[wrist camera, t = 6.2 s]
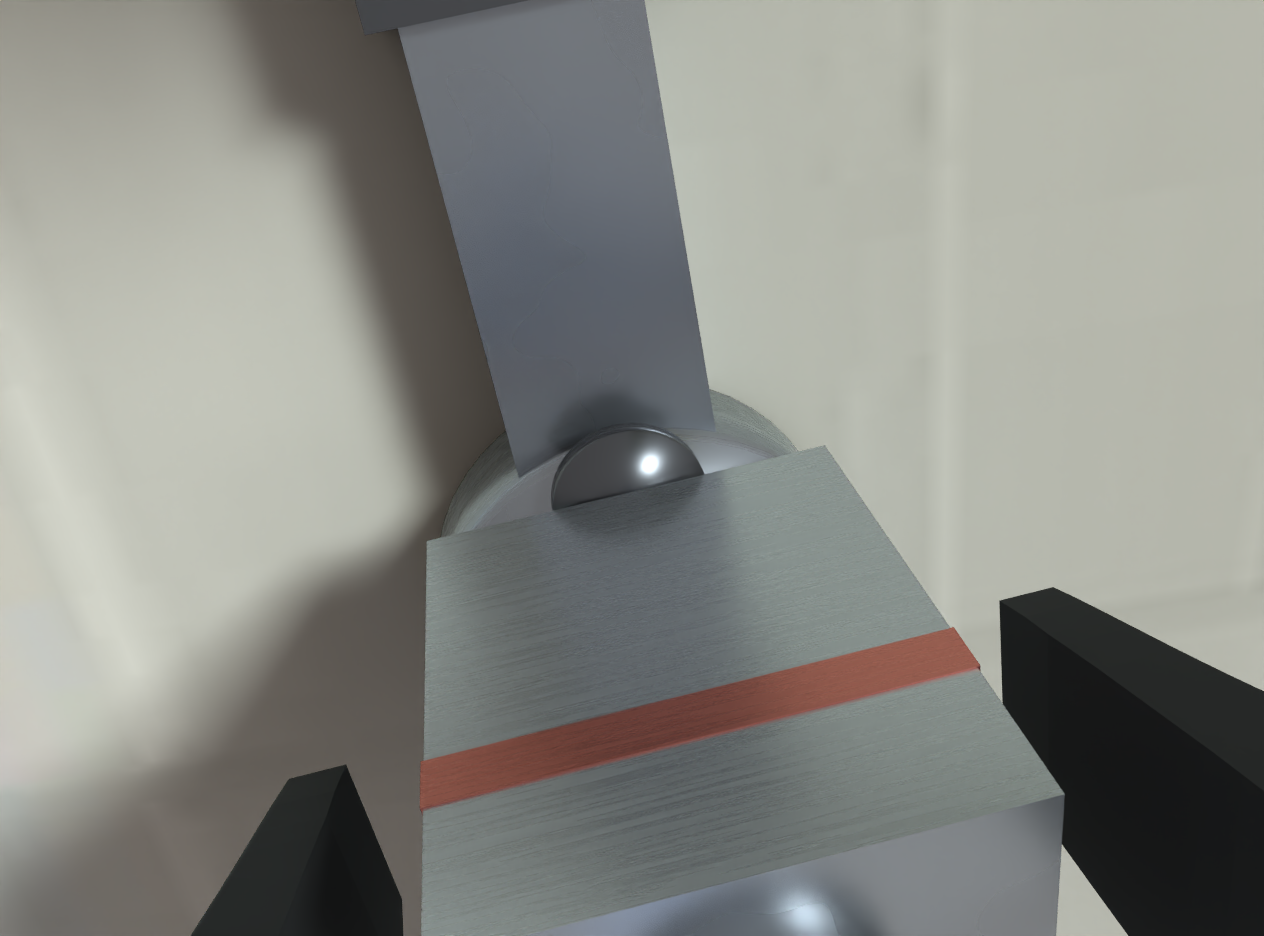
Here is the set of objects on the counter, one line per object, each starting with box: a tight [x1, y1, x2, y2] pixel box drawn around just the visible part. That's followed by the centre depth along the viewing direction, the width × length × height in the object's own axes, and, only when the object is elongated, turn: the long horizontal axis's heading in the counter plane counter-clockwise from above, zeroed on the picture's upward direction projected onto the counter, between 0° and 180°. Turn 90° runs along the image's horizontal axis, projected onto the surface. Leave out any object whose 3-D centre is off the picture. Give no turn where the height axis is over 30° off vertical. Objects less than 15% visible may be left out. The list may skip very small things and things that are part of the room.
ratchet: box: [355, 0, 798, 538], centre depth 11 cm, size 15×6×4 cm, turn 11°
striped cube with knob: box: [420, 445, 1065, 936], centre depth 10 cm, size 5×5×6 cm
